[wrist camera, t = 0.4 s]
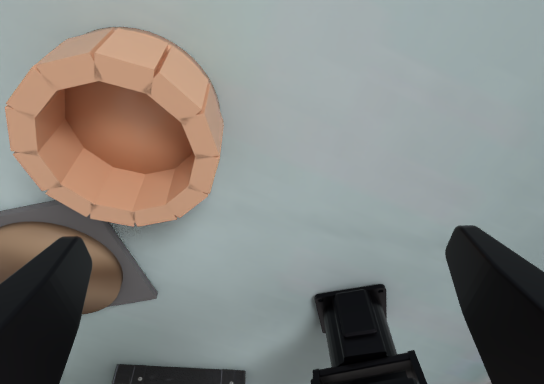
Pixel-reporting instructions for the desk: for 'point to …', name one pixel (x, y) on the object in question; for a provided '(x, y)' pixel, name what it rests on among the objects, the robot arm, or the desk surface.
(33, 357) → the robot arm
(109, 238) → the trivet
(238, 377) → the disk drive
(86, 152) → the bowl
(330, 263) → the desk surface
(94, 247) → the lid
